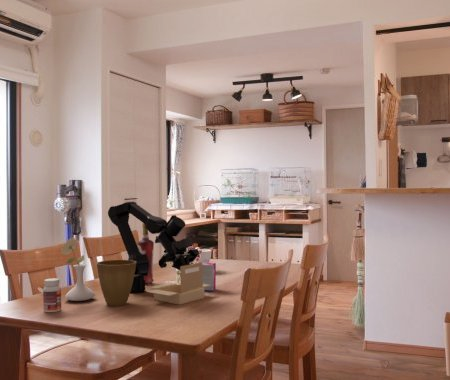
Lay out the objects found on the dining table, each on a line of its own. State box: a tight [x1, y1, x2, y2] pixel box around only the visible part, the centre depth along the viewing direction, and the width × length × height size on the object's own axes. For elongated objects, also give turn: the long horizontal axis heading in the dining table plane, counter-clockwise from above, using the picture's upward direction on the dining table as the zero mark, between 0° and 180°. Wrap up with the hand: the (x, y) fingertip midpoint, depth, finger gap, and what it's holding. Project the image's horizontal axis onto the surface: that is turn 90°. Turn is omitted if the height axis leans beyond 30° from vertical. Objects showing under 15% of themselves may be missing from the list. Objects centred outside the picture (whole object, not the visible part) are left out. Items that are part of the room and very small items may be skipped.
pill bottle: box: [42, 277, 62, 313], centre depth 186 cm, size 6×6×11 cm
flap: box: [179, 262, 203, 292], centre depth 199 cm, size 1×12×10 cm, turn 142°
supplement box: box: [200, 262, 217, 292], centre depth 219 cm, size 6×6×12 cm
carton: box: [146, 281, 211, 306], centre depth 204 cm, size 19×24×4 cm
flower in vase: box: [60, 237, 96, 302], centre depth 203 cm, size 13×11×25 cm
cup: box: [195, 248, 212, 263], centre depth 266 cm, size 12×12×11 cm
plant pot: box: [96, 259, 136, 307], centre depth 196 cm, size 15×15×16 cm
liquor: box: [137, 222, 155, 285], centre depth 236 cm, size 7×7×28 cm
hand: (190, 274), depth 199 cm, fingers closed, pressing on flap
